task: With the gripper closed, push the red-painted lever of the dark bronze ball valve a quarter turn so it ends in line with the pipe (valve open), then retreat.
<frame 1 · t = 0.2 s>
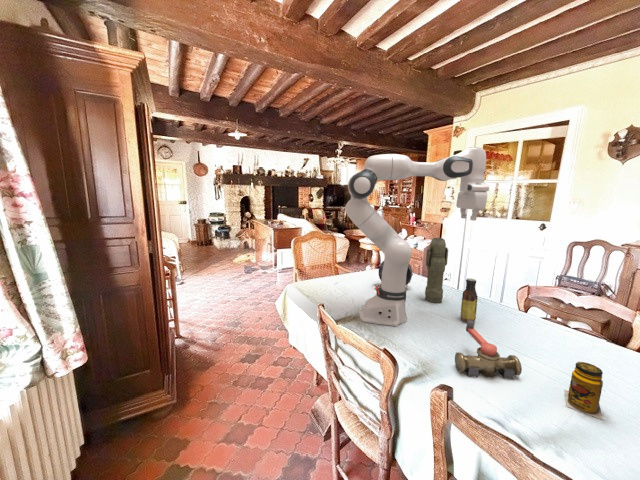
hand: (468, 219, 117), 47 cm above the table, fingers open, 8 cm apart
lever: (479, 336, 93), point 9 cm above the table, hinge at 0.0°
ring: (394, 288, 168), on the table
sauce bottle: (467, 320, 125), on the table
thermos: (433, 300, 148), on the table
valve body: (485, 371, 89), on the table
condiment: (582, 404, 75), on the table
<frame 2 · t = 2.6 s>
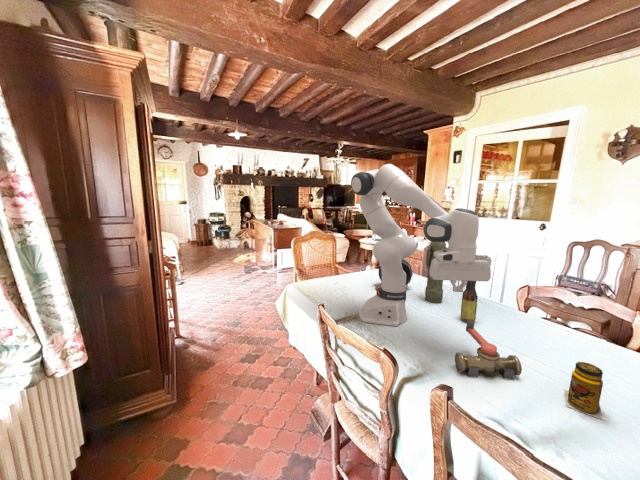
hand: (457, 291, 98), 23 cm above the table, fingers closed
nothing on the table moved.
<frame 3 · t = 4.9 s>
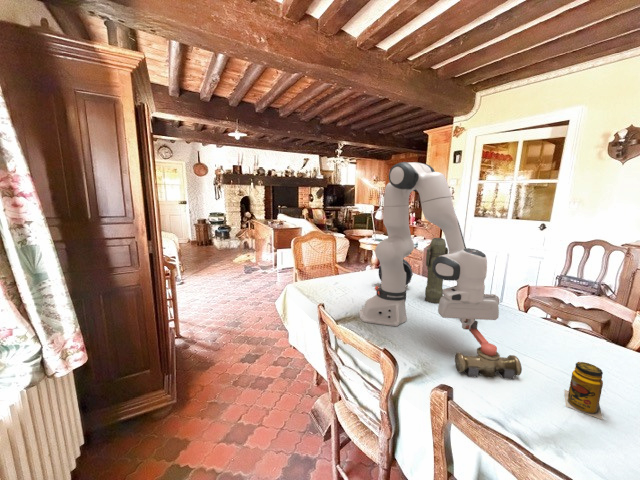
hand: (466, 328, 99), 9 cm above the table, fingers closed
lever: (481, 336, 93), point 9 cm above the table, hinge at 4.9°, touching gripper
everything else where it was.
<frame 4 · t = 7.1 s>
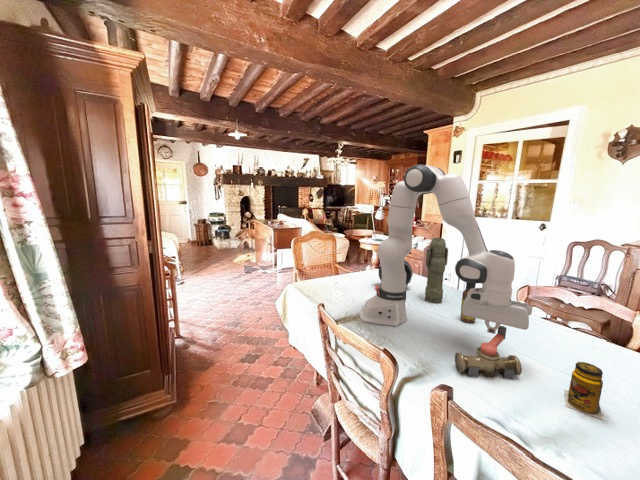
hand: (491, 332, 97), 9 cm above the table, fingers closed
lever: (495, 339, 91), point 9 cm above the table, hinge at 44.6°, touching gripper
everything else where it was.
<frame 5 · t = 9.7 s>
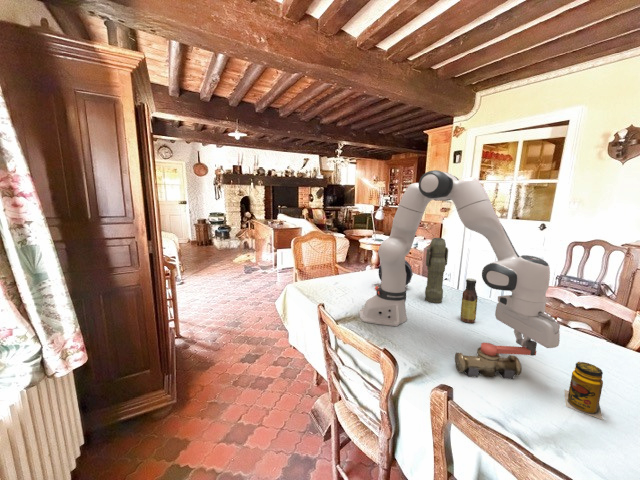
hand: (521, 344, 89), 9 cm above the table, fingers closed
lever: (508, 346, 87), point 9 cm above the table, hinge at 89.9°, touching gripper
everything else where it was.
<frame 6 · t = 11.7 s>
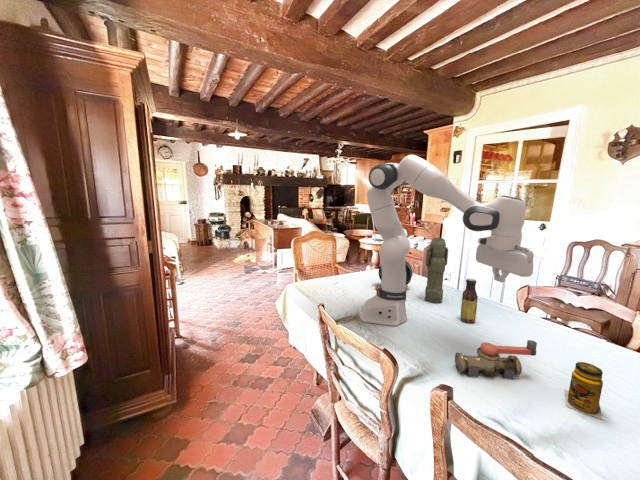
hand: (499, 281, 95), 28 cm above the table, fingers closed
lever: (508, 346, 87), point 9 cm above the table, hinge at 90.0°
everything else where it was.
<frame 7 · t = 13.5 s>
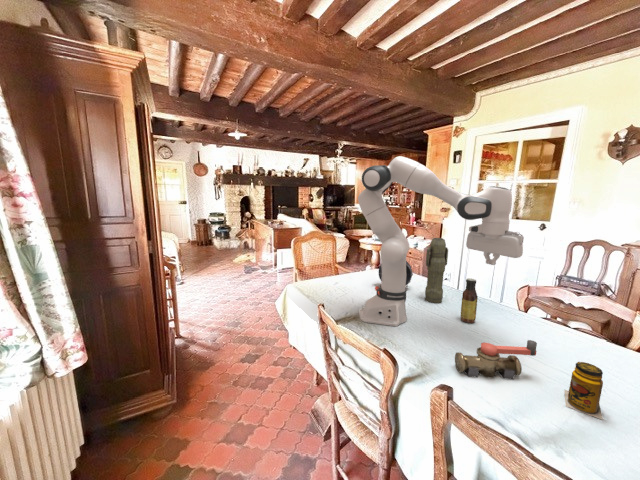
hand: (490, 264, 105), 31 cm above the table, fingers closed
nothing on the table moved.
at the end: lever at +90° (first picture: +0°) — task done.
